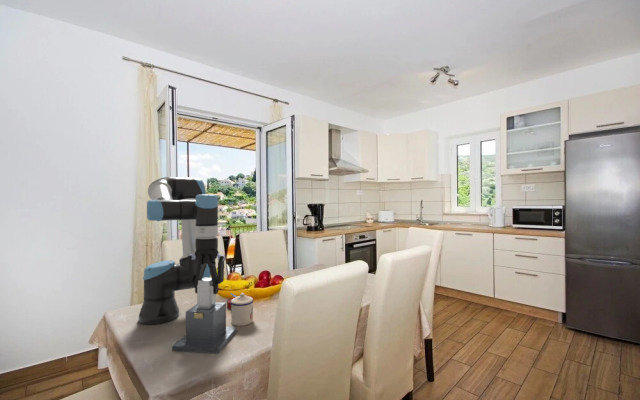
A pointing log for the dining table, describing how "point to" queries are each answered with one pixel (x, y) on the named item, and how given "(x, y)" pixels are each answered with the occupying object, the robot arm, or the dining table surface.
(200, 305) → the post
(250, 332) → the dining table surface
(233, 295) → the canned food
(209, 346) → the stand
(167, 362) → the dining table surface
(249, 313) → the teacup with lid
